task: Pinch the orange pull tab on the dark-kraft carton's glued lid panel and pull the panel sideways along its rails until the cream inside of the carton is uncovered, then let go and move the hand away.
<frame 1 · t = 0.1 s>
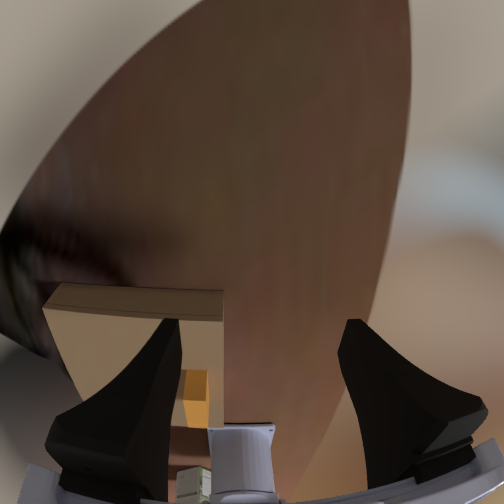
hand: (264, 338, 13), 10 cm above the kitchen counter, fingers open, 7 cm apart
syrup box: (200, 472, 40), on the kitchen counter
lid panel: (136, 392, 22), point 5 cm above the kitchen counter, slide at 0.0 cm
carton: (147, 350, 26), on the kitchen counter
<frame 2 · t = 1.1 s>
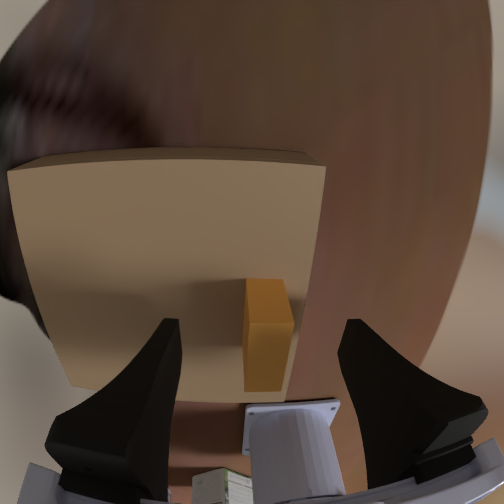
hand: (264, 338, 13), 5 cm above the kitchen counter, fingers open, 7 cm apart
syrup box: (223, 475, 31), on the kitchen counter
lid panel: (149, 328, 13), point 5 cm above the kitchen counter, slide at 0.0 cm
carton: (167, 272, 17), on the kitchen counter
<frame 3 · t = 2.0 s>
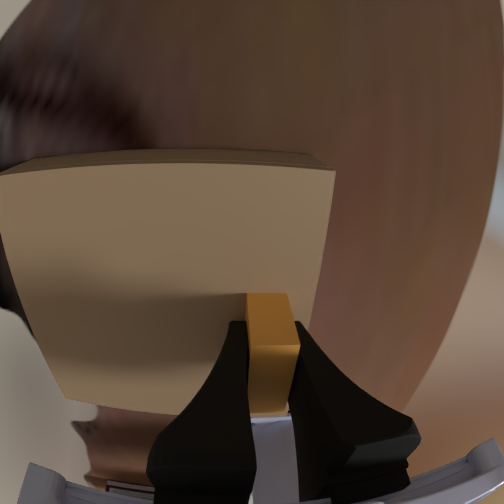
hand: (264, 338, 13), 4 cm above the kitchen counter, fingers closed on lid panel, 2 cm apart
lid panel: (143, 345, 12), point 5 cm above the kitchen counter, slide at 0.0 cm, touching gripper
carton: (163, 282, 16), on the kitchen counter
supplement box: (140, 487, 32), on the kitchen counter
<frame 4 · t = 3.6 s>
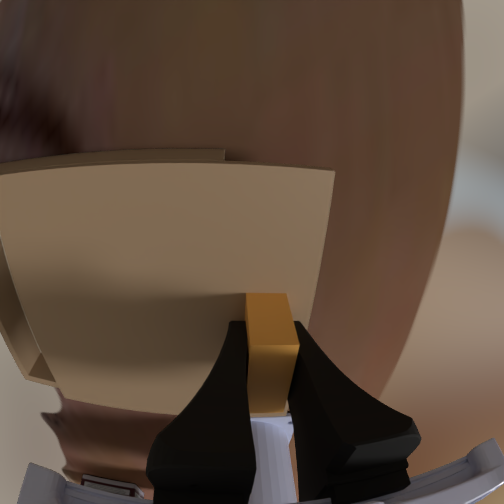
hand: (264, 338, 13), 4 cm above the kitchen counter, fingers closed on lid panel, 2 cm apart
lid panel: (142, 345, 12), point 5 cm above the kitchen counter, slide at 3.9 cm, touching gripper
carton: (98, 278, 16), on the kitchen counter
supplement box: (114, 483, 31), on the kitchen counter
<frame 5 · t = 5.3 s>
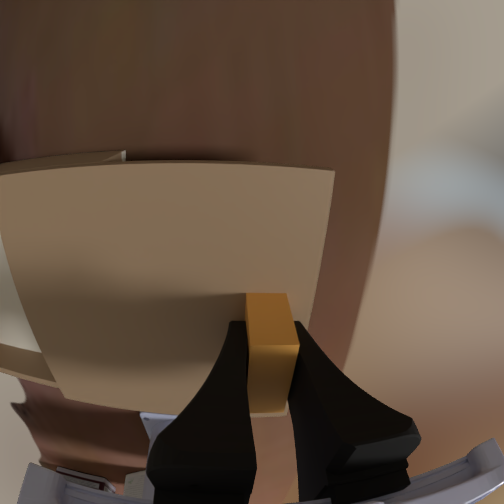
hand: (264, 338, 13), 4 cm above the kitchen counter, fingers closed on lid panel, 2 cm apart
syrup box: (155, 477, 29), on the kitchen counter
lid panel: (142, 345, 12), point 5 cm above the kitchen counter, slide at 8.5 cm, touching gripper
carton: (35, 274, 15), on the kitchen counter
supplement box: (87, 476, 31), on the kitchen counter
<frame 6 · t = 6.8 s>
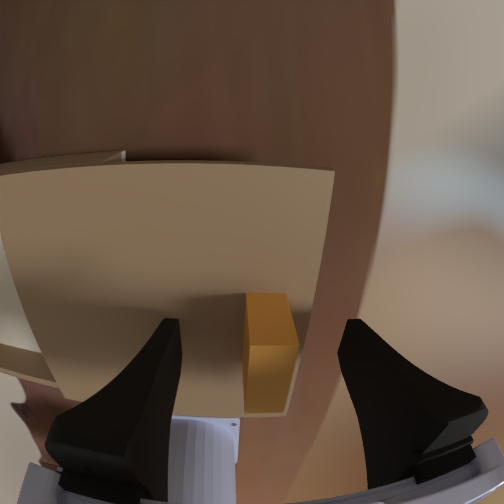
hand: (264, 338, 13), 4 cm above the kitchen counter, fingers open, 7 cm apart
lid panel: (142, 345, 12), point 5 cm above the kitchen counter, slide at 8.5 cm
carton: (35, 274, 15), on the kitchen counter
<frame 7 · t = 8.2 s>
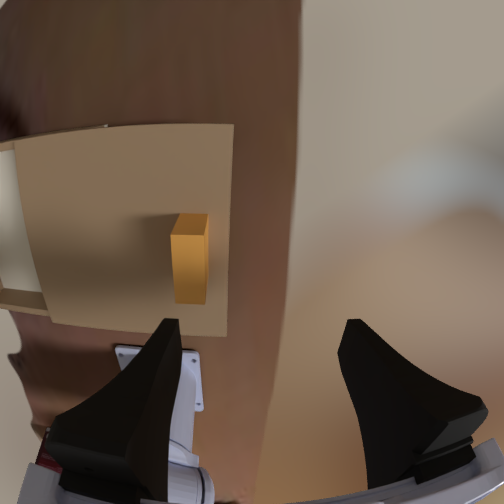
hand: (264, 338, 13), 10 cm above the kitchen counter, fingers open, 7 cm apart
lid panel: (108, 252, 16), point 5 cm above the kitchen counter, slide at 8.5 cm
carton: (39, 221, 20), on the kitchen counter
supplement box: (74, 437, 36), on the kitchen counter
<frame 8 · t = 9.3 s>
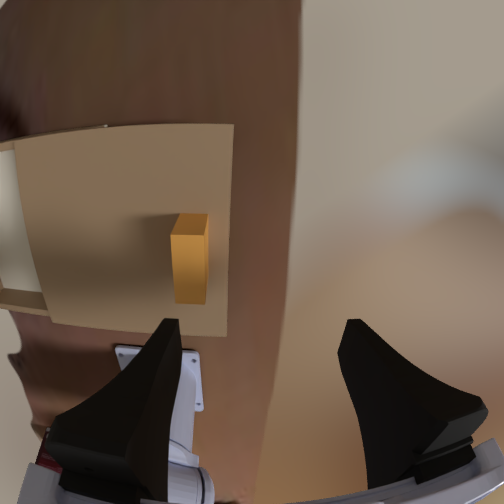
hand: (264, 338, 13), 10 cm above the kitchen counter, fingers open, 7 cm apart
lid panel: (108, 252, 16), point 5 cm above the kitchen counter, slide at 8.5 cm
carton: (39, 221, 20), on the kitchen counter
supplement box: (74, 437, 36), on the kitchen counter
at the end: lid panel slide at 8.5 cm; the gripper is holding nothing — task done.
